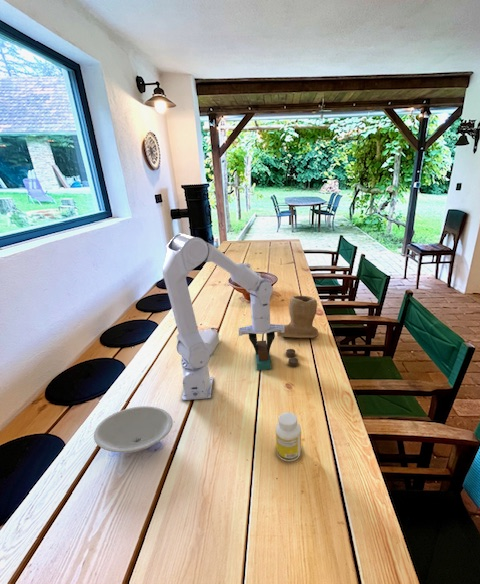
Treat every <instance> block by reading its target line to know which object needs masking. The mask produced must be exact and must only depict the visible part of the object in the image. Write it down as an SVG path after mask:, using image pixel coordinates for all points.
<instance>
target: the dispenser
mask: <svg viewBox="0 0 480 584" xmlns="http://www.w3.org/2000/svg"><path fill="white" fill-rule="evenodd" d="M198 332H199V334H200V336H201V337H202V339H203V341H204V344H205V347H206V348H207V349H208V350H209V352H210V356H211V355H212V354H213V353H214V351H215V349H216V348H217V346H218V344H219V342H220V336H219V333H218V331H217V330H215V328H213V329H211V328H209V329H208V328H207V329H204V330H198Z"/></svg>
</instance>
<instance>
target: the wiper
mask: <svg viewBox="0 0 480 584" xmlns="http://www.w3.org/2000/svg"><path fill="white" fill-rule="evenodd" d="M257 347H258V355H256V351H255V350H254V352H255V361H256V363H255V364H256V371H263V370H265V371H266V370H272V363H271V362H272V361H271V357H270V353H269V354H268V350H267V339H266V340H265V339H264V340H257Z"/></svg>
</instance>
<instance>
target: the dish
mask: <svg viewBox="0 0 480 584" xmlns="http://www.w3.org/2000/svg"><path fill="white" fill-rule="evenodd" d="M172 428H173V418H172V416H171V415H170V412H168V411H166V410H164V409H162V408H160V407H156V406H148V405H147V406H145V405H144V406H142V405H141V406H133V407H129V408H125V409H122V410H119V411H117V412H114V413H111V415H109V416H107V417H105V418H104V419H103V420H102V421H101V422H100V423H99V424H98V425H97V426H96V428H95V430H94V433H93V440H94V442H95V444H96V445H97V446H98V447H99V448H101V449H103V450H105V451H108V452H113V453H125V454H126V453H127V454H129V453H137V452H141V451H144V450H146V449H148V448H151V447H152V446H154V445H155V444H157V443H159V442H161V441H162V440H163V439H164V438H165V437H166V436H167V435H168V434H169V433H170V432H171V430H172Z"/></svg>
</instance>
